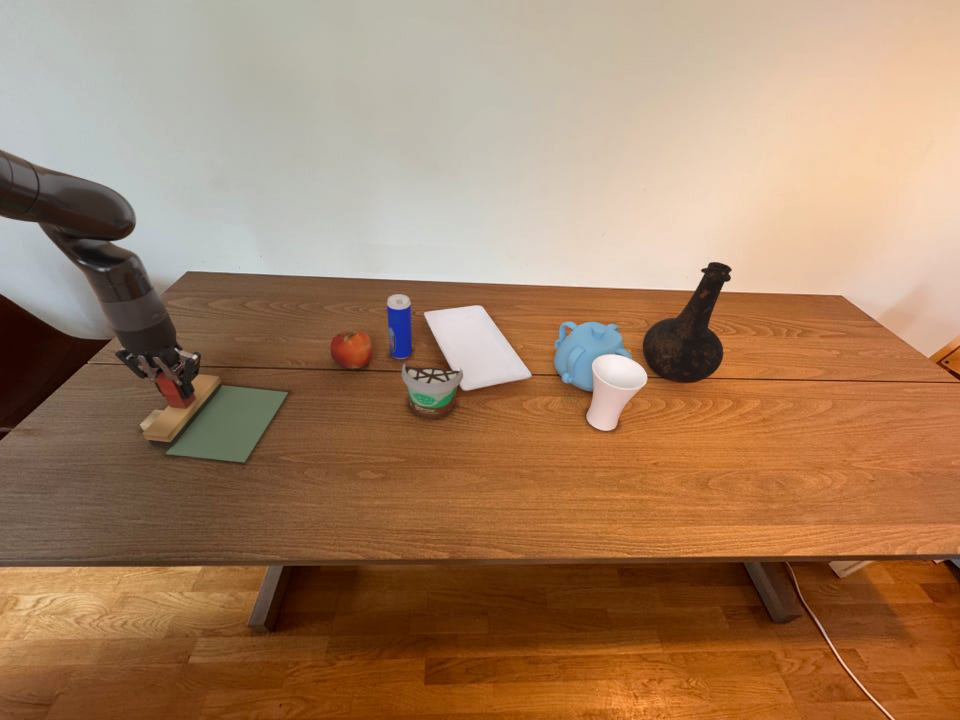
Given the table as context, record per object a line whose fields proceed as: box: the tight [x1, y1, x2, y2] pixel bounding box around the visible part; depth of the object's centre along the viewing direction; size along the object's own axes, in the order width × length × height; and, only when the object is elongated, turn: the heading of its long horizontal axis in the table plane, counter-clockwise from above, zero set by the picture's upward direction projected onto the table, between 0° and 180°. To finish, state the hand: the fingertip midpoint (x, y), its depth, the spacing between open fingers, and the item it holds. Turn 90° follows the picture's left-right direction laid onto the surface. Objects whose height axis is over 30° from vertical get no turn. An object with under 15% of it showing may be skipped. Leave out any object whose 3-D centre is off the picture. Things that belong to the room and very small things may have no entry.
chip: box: [139, 409, 164, 432], centre depth 78 cm, size 4×4×2 cm
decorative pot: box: [553, 321, 634, 392], centre depth 96 cm, size 16×16×14 cm
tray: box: [423, 305, 533, 392], centre depth 102 cm, size 17×31×4 cm, turn 22°
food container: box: [401, 362, 463, 419], centre depth 84 cm, size 12×6×10 cm, turn 88°
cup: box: [586, 354, 648, 432], centre depth 85 cm, size 10×10×14 cm
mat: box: [165, 384, 289, 464], centre depth 81 cm, size 18×14×1 cm
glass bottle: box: [642, 261, 733, 384], centre depth 96 cm, size 18×18×28 cm
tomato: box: [330, 330, 373, 370], centre depth 94 cm, size 9×9×8 cm
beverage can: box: [386, 293, 413, 360], centre depth 96 cm, size 5×5×15 cm
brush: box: [141, 371, 222, 448], centre depth 77 cm, size 16×4×10 cm, turn 176°
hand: (178, 394), depth 77 cm, fingers closed on brush, 3 cm apart
